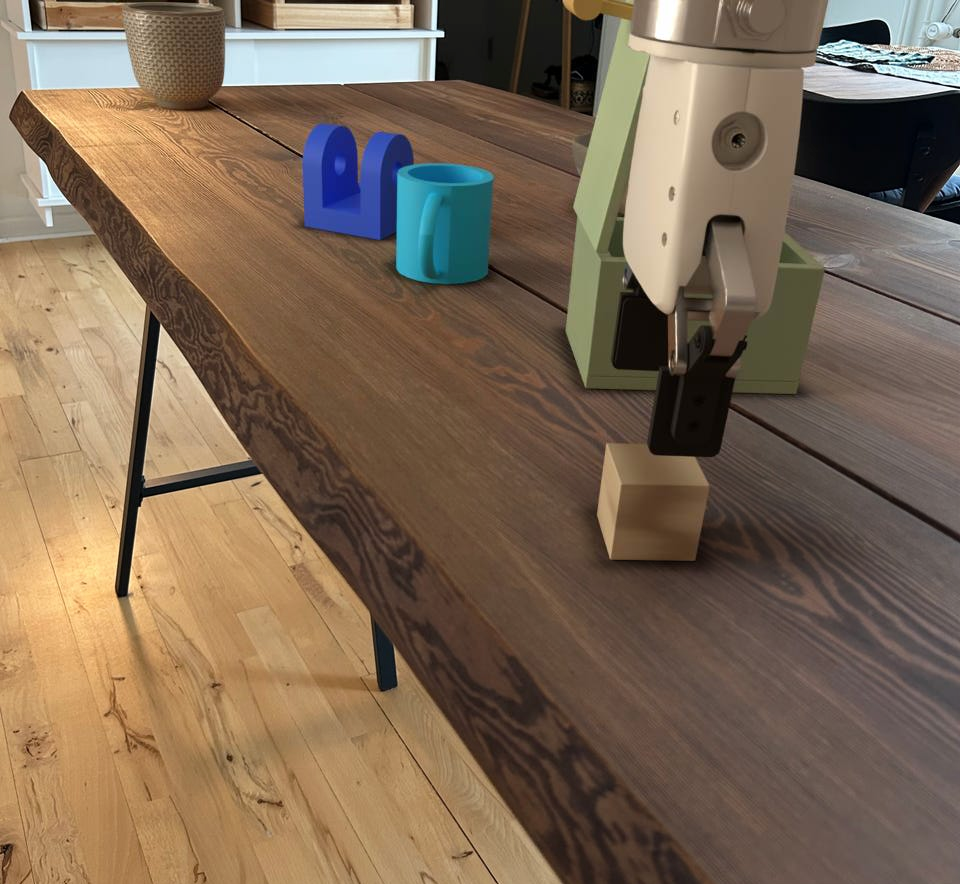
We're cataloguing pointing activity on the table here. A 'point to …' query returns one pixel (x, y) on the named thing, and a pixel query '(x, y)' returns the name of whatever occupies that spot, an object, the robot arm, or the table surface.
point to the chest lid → (610, 126)
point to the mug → (443, 222)
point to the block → (651, 504)
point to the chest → (770, 337)
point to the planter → (176, 51)
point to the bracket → (352, 181)
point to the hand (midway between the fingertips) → (659, 407)
